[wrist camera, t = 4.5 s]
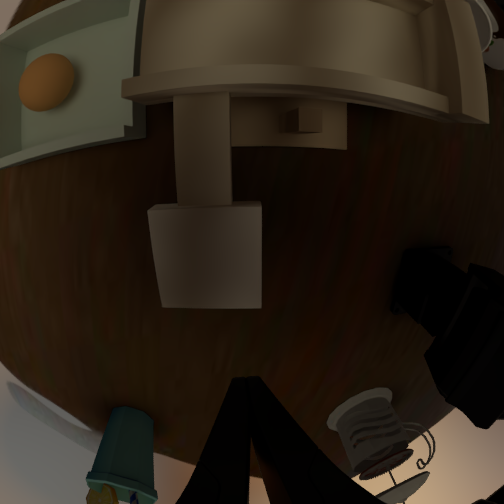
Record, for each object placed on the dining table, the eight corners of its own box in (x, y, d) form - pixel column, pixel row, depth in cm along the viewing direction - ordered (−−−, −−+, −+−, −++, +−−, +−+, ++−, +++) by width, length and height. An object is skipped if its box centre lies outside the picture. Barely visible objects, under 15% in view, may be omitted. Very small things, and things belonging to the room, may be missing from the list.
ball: (14, 67, 9) (60, 66, 12) (10, 121, 11) (57, 115, 14) (34, 42, 8) (87, 45, 11) (27, 105, 9) (83, 100, 12)
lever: (431, 20, 9) (469, 3, 5) (421, 280, 15) (454, 314, 12) (153, -5, 9) (127, -39, 5) (163, 287, 15) (141, 330, 12)
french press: (326, 404, 28) (394, 581, 5) (409, 372, 28) (498, 515, 6) (326, 437, 32) (374, 576, 9) (396, 410, 32) (459, 531, 9)
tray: (151, 8, 12) (135, -22, 8) (146, 137, 16) (124, 136, 11) (26, 49, 11) (-6, 38, 6) (21, 164, 14) (-16, 174, 10)
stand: (334, 3, 13) (364, -25, 8) (341, 149, 17) (380, 153, 13) (224, -9, 12) (227, -47, 7) (223, 146, 17) (226, 147, 12)
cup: (137, 375, 23) (112, 517, 9) (198, 409, 26) (202, 536, 12) (86, 417, 25) (64, 513, 12) (136, 443, 28) (127, 535, 14)
